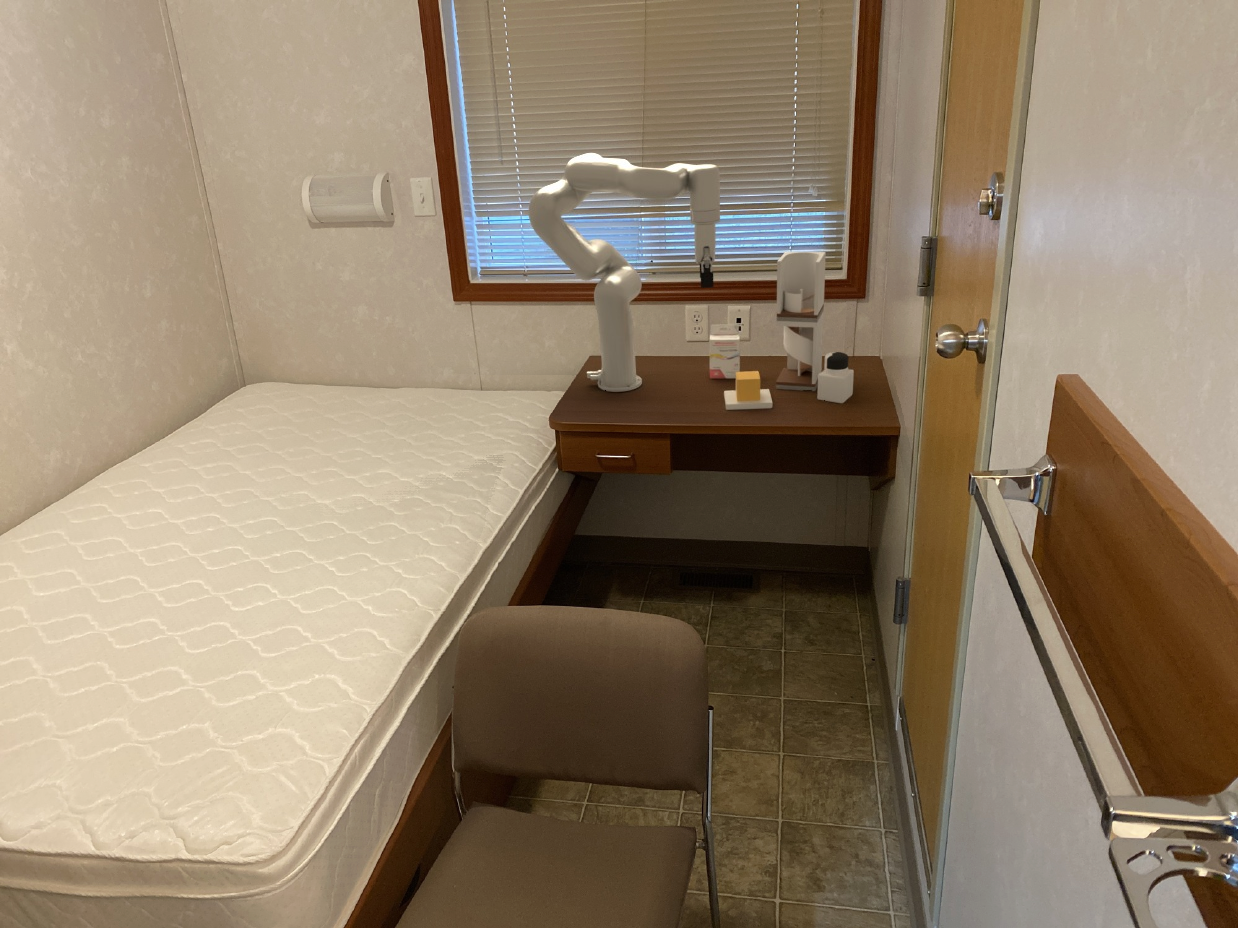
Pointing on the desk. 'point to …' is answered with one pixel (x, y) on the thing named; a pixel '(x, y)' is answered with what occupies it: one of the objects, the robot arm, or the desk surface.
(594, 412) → the desk surface
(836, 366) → the medicine bottle
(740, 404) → the mount plate
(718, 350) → the ink cartridge box
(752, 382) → the orange cube block
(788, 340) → the spiral ramp tower
